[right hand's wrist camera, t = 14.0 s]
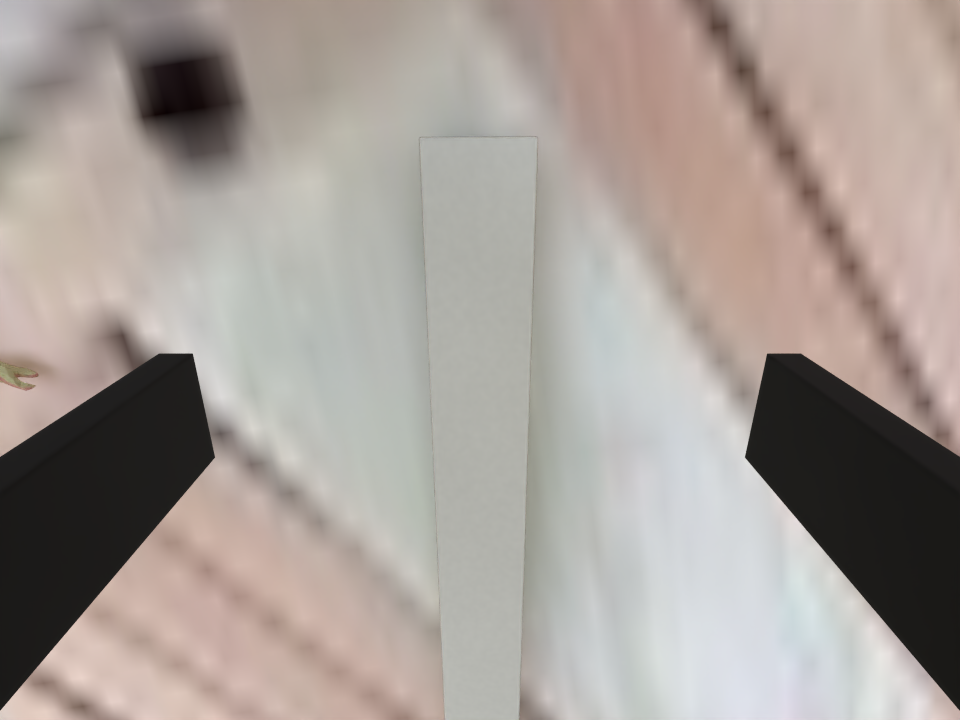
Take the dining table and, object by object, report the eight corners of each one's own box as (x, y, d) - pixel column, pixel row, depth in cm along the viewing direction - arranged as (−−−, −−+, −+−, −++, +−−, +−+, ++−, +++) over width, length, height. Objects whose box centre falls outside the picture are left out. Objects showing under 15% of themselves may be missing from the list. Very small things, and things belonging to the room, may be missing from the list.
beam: (433, 138, 33) (418, 137, 25) (524, 138, 33) (538, 136, 25) (455, 763, 55) (450, 864, 47) (509, 763, 55) (514, 864, 47)
